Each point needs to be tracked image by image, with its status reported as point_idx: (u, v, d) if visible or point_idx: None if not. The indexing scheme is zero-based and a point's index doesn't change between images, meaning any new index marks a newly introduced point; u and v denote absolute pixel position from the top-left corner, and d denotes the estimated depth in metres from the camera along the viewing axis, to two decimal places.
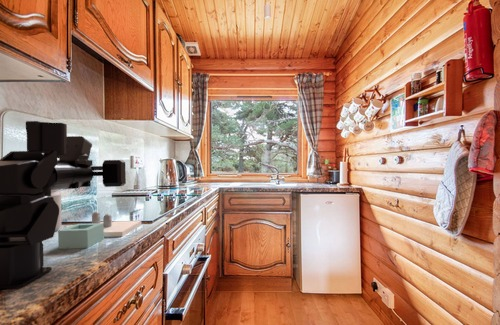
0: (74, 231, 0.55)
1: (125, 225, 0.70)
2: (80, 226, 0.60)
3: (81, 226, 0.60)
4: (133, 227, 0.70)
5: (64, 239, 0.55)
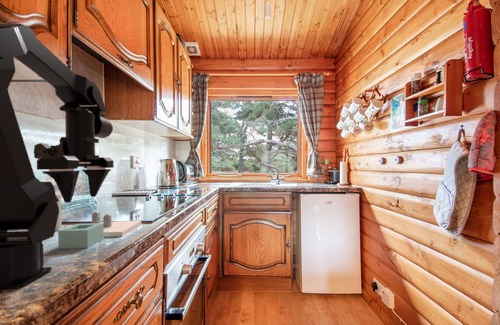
0: (74, 231, 0.55)
1: (125, 225, 0.70)
2: (80, 226, 0.60)
3: (81, 226, 0.60)
4: (133, 227, 0.70)
5: (64, 239, 0.55)
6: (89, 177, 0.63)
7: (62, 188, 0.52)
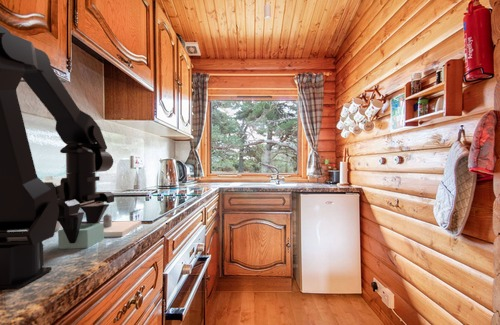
0: None
1: (125, 225, 0.70)
2: (80, 226, 0.60)
3: (81, 226, 0.60)
4: (133, 227, 0.70)
5: (64, 239, 0.55)
6: (87, 214, 0.61)
7: (67, 230, 0.53)
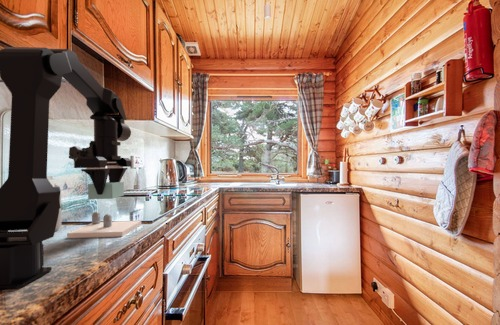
0: None
1: (125, 225, 0.70)
2: None
3: None
4: (133, 227, 0.70)
5: (92, 191, 0.66)
6: (109, 174, 0.72)
7: (96, 183, 0.64)
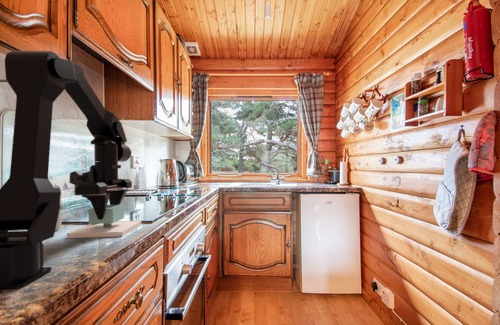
0: None
1: (125, 225, 0.70)
2: None
3: None
4: (133, 227, 0.70)
5: (93, 216, 0.66)
6: (110, 197, 0.72)
7: (96, 208, 0.64)
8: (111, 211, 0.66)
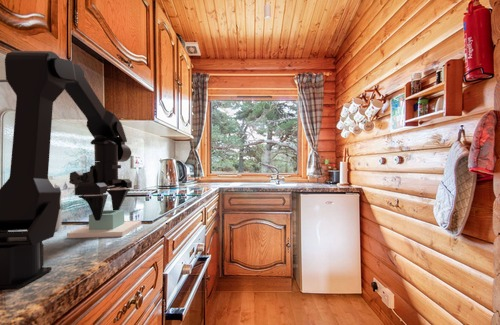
0: (102, 215, 0.66)
1: (125, 225, 0.70)
2: (105, 212, 0.71)
3: (106, 212, 0.71)
4: (133, 227, 0.70)
5: (93, 222, 0.66)
6: (112, 196, 0.74)
7: (93, 209, 0.63)
8: (111, 217, 0.66)
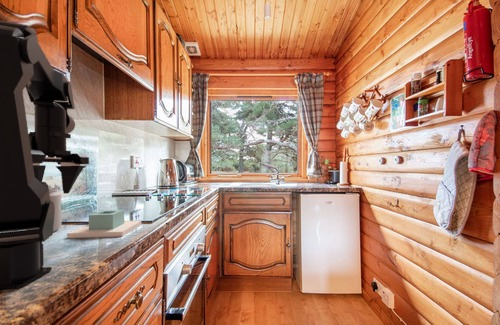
0: (102, 215, 0.66)
1: (125, 225, 0.70)
2: (105, 212, 0.71)
3: (106, 212, 0.71)
4: (133, 227, 0.70)
5: (93, 222, 0.66)
6: (62, 173, 0.62)
7: None
8: (111, 217, 0.66)
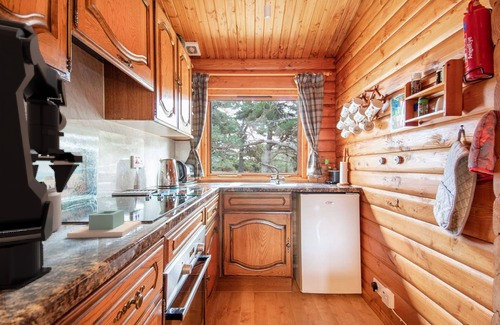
0: (102, 215, 0.66)
1: (125, 225, 0.70)
2: (105, 212, 0.71)
3: (106, 212, 0.71)
4: (133, 227, 0.70)
5: (93, 222, 0.66)
6: (55, 172, 0.60)
7: None
8: (111, 217, 0.66)
